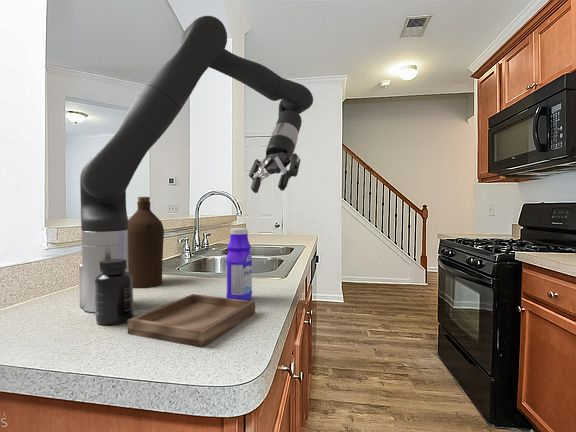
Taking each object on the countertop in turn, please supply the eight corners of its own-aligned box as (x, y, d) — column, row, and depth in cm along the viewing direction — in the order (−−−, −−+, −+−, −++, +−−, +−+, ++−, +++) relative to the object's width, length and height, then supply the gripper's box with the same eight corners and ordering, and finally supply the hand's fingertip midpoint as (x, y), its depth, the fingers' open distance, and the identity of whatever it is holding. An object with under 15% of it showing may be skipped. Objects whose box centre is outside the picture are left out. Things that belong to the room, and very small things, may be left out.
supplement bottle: (123, 312, 74) (123, 256, 74) (139, 319, 70) (139, 260, 70) (89, 320, 69) (88, 260, 69) (104, 328, 65) (103, 264, 64)
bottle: (245, 305, 80) (245, 229, 80) (222, 303, 81) (222, 229, 81) (254, 296, 87) (255, 227, 87) (233, 295, 89) (233, 227, 88)
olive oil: (172, 282, 103) (171, 197, 102) (145, 290, 93) (144, 196, 92) (144, 278, 107) (143, 197, 106) (115, 286, 97) (114, 196, 96)
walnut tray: (127, 333, 63) (127, 319, 62) (192, 304, 80) (192, 293, 80) (203, 347, 57) (202, 332, 57) (255, 313, 75) (255, 301, 74)
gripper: (255, 138, 100) (237, 184, 92) (298, 129, 92) (283, 179, 85) (268, 155, 105) (253, 199, 98) (310, 148, 98) (297, 196, 90)
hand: (267, 190), depth 91 cm, fingers open, 8 cm apart
